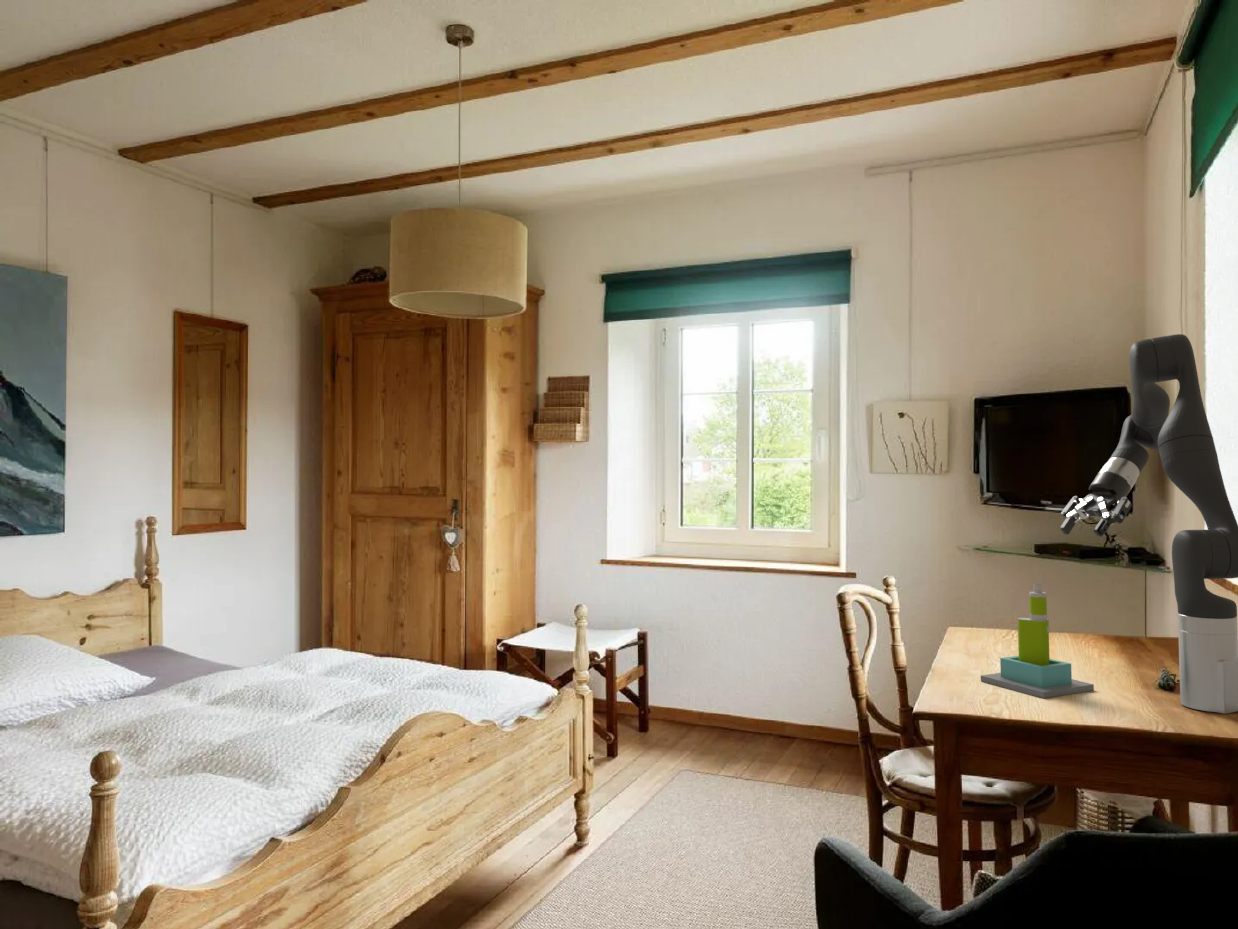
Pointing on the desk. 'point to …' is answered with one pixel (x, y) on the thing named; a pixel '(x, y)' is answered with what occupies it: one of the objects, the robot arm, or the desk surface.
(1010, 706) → the desk surface
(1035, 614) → the vape
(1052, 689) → the dock
